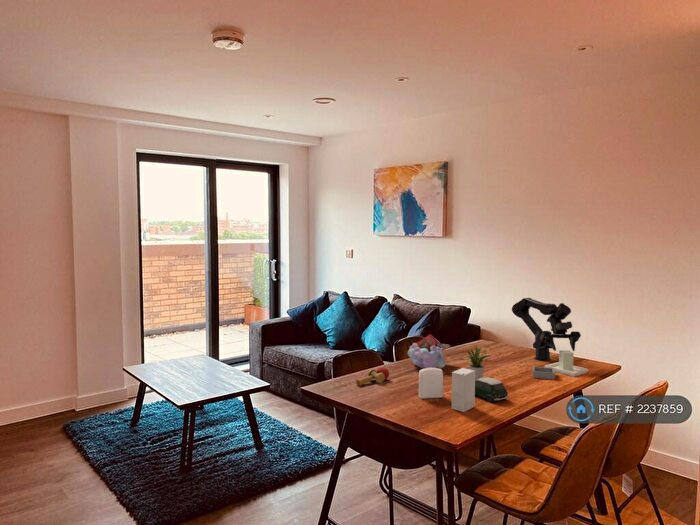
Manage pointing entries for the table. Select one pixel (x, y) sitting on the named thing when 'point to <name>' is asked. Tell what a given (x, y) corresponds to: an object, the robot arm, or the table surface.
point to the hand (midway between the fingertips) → (564, 350)
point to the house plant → (477, 362)
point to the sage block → (566, 360)
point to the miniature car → (490, 389)
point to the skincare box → (463, 389)
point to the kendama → (374, 376)
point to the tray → (575, 372)
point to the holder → (543, 373)
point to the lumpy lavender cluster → (428, 353)
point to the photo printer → (430, 383)
